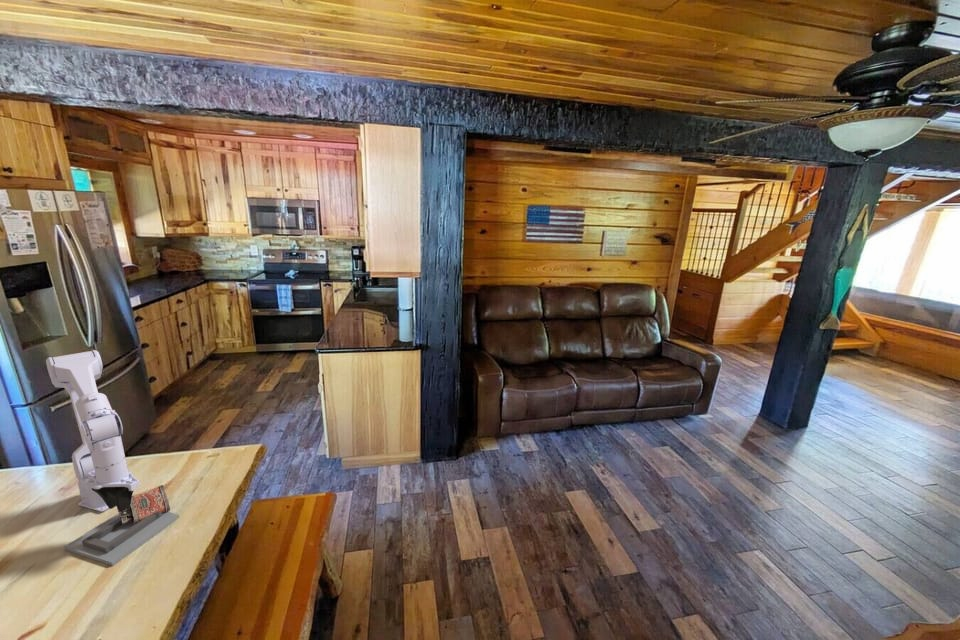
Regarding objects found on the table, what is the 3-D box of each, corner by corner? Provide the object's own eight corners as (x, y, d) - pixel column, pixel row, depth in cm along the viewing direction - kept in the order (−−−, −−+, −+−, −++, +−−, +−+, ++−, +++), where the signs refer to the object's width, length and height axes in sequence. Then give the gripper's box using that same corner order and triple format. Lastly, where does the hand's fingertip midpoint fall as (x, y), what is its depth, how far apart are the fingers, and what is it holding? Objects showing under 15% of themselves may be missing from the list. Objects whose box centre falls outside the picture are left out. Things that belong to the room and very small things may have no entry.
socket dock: (64, 550, 94) (62, 541, 93) (136, 505, 109) (134, 498, 108) (112, 566, 90) (110, 557, 90) (179, 517, 105) (178, 510, 105)
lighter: (170, 507, 105) (122, 526, 97) (169, 513, 107) (121, 532, 99) (162, 482, 108) (114, 498, 101) (161, 488, 110) (114, 504, 102)
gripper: (68, 465, 92) (80, 512, 95) (112, 476, 89) (123, 525, 92) (102, 449, 99) (112, 494, 102) (145, 459, 96) (154, 505, 99)
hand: (119, 507), depth 98 cm, fingers open, 3 cm apart
